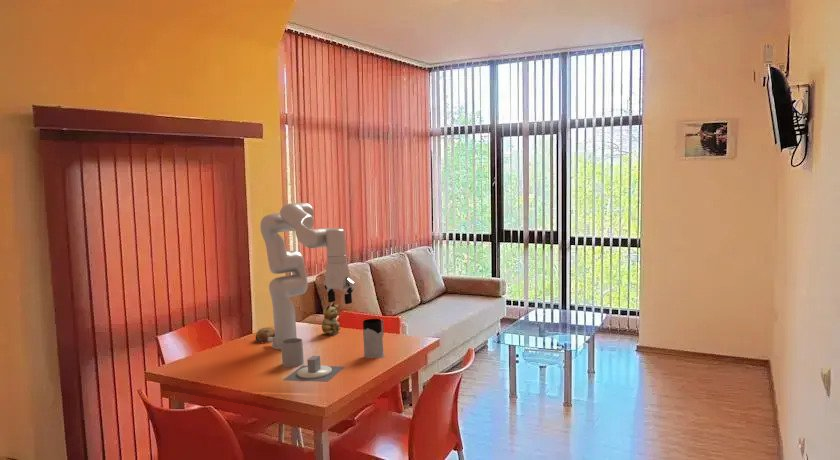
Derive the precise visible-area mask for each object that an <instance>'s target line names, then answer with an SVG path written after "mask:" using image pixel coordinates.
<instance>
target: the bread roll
mask: <svg viewBox="0 0 840 460" xmlns="http://www.w3.org/2000/svg"><path fill="white" fill-rule="evenodd" d="M268 337H275V331H274V328H271V327H268V326H267V327H261V328H260V329H258V330H257V332H256V334H255V343H259V342H263V343H262V344H266V343H265V342H268ZM268 343H269V342H268Z"/></svg>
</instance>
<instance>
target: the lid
mask: <svg viewBox="0 0 840 460" xmlns="http://www.w3.org/2000/svg"><path fill="white" fill-rule="evenodd" d="M307 366H308V367H305V368H302V369H300V370H298V371H297V376H298V377H300V378H306V379H313V378H320V377H324V376H327V375H329V374H331V373H332V368H331V367H329V366H330V365H322V364H321V356H320V355H311V356H310V357H309V358H308V359H307Z"/></svg>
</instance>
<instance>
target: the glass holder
mask: <svg viewBox="0 0 840 460" xmlns="http://www.w3.org/2000/svg"><path fill="white" fill-rule="evenodd" d="M362 328H363V329H362V330H363V331H362V332H363V351H364V354H363V358H367V359H383V358H384V357H386V355H385V353H384V340H383V337H384V332H385V323H384V320H383V319H381V318H370V319H369V318H368V319H364V320H363V321H362Z"/></svg>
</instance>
